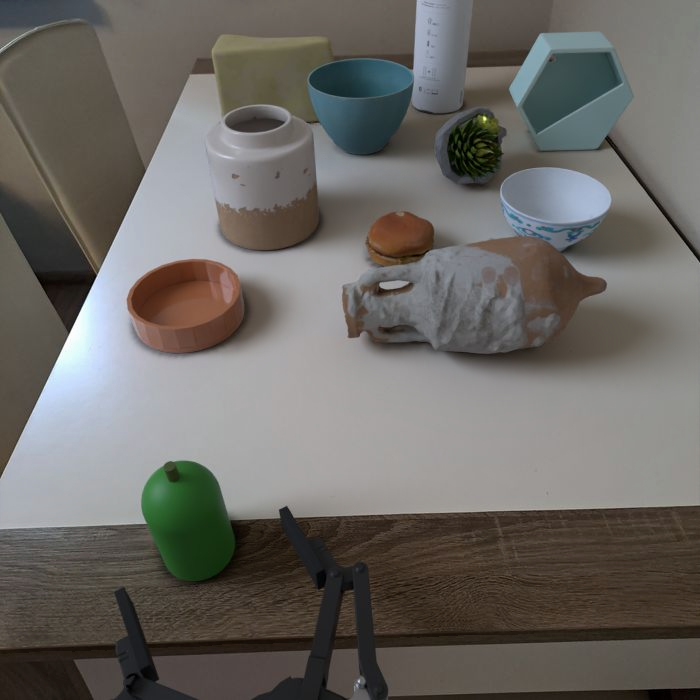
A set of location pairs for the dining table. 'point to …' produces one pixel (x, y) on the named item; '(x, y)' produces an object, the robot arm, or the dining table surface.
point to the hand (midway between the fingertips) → (207, 554)
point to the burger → (399, 239)
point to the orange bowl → (186, 305)
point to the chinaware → (554, 204)
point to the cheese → (268, 71)
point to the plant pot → (361, 101)
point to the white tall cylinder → (441, 54)
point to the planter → (571, 90)
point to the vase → (263, 177)
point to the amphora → (472, 297)
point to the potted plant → (470, 146)
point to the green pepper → (188, 520)
